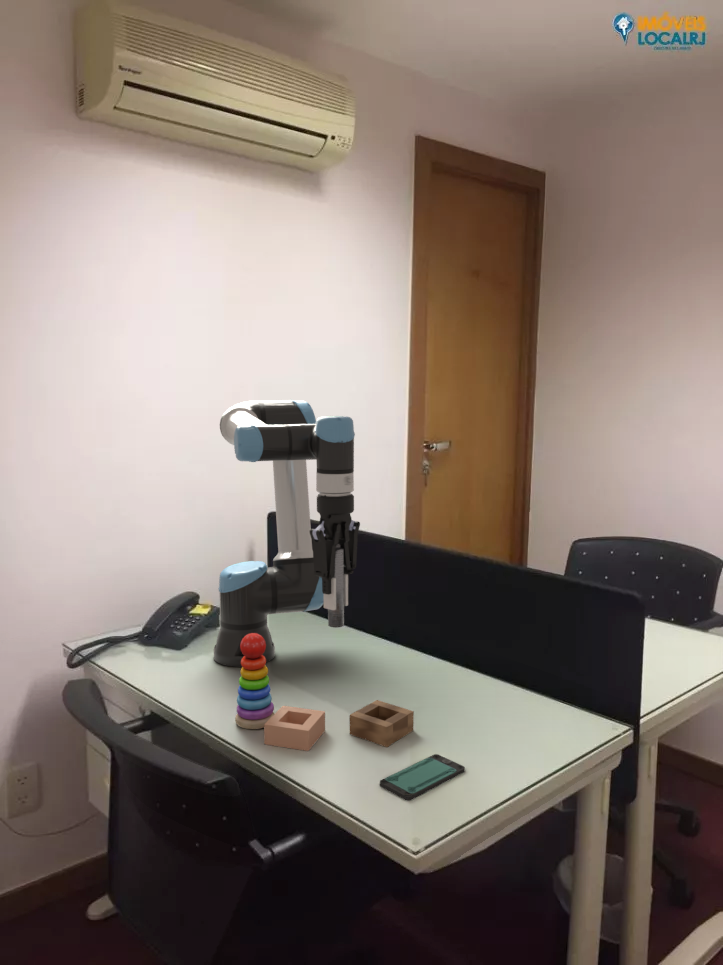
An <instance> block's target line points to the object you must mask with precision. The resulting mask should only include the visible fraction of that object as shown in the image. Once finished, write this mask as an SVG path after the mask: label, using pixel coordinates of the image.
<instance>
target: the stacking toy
mask: <svg viewBox="0 0 723 965" xmlns="http://www.w3.org/2000/svg"><path fill="white" fill-rule="evenodd" d="M240 648H241V652H242V654H243V655H244V657H243V658H242V660H241V665H242V667H241V669H240V677H239V680H238V683H239V686H238V688H237V693H238V695H237V697H236V703H237V706H236V712H237V713H236V714H235V718H234V719H235V720H234V721H235V723H236V724H237V726H239V727H240V728H243V729H247V730H259V729H264V724H265V723H266V722H267V721H268V720H269V719H270V718H271V717H272V716H273V715H274V714H275V712H274V710H275V705H274V702H272V701H273V698H272V697H273V696H272V694H271V686H270V684H269V683H270V677H269V675H268V674H269V669H268V667H267V664H266V663H267V662H266V658H265V657H264V656H263V655H262V654H263V653H264V652H265V649H266V642H265V640H264V638H263V637H262V636H261V635H259V634H257V633H250V634H248V635H246V636H245V637H244V638H243V639H242V641H241V644H240Z"/></svg>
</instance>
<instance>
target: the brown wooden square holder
mask: <svg viewBox="0 0 723 965" xmlns="http://www.w3.org/2000/svg"><path fill="white" fill-rule="evenodd" d="M414 712H415V711H414V710H410V709H407V708H404V707H402V706H398V705H396V704H395V705H394V704H392V703H389V702H385V701H381V700H379V699H376V700H374V701H372V702H370V703H369V704H366V705H365V706H363V707H361V708H359V709H357V710H356V711H354V712H352V713H350V714H349V735H351V736H354V737H357V738H359V739H362V740H365V741H368V742H370V743H373V744H376V745H380V746H382V747H385V748H388V747H390V746H391V745H393V744H394V743H396V742H397V741H399V740H401V739H403V738H404V737H405V736H407V735H409V734H411V733H412V732H414V724H415V722H414V721H415V720H414V719H415V718H414V716H415V715H414V714H415V713H414Z"/></svg>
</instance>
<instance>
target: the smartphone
mask: <svg viewBox="0 0 723 965" xmlns="http://www.w3.org/2000/svg"><path fill="white" fill-rule="evenodd" d="M465 771H466V768H465V766H464V765H461V764H460V763H457V762H456V761H453V760H452V759H450V758H447V757H444V756H442V755H440V754H437V753H435V754H432V755H430V756H427V757H426V758H424V759H421V760H420V761H417V762H415V763H414V764H411V765H409V766H407V767H405V768H403V769H400V770H399V771H397V772H395V773H393V774H391V775H388V776H386V777H384V778H382V779H380V780H379V787H380V788H383V789H384V790H386V791H388V792H389V793H391V794H393V795H395V796H397V797H399V798H401V799H402V800H403V801H409V802H410V801H413V800H414V799H417V798H418V797H420V796H422V795H423V794H426V793H427V792H430V791H431V790H433V789H435V788H437V787H438V786H441V785H443V784H445V783H447V782H448V781H450V780H452V779H453V778H456V777H457V776H460V775H461V774H463V773H465Z"/></svg>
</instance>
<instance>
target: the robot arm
mask: <svg viewBox="0 0 723 965" xmlns="http://www.w3.org/2000/svg"><path fill="white" fill-rule="evenodd" d="M310 404H311V403H309V402H307V401H306V400H293V399H280V400H279V399H278V400H277V399H276V400H248V401H242V402H240V403H236V404H234V405H233V406H231V407H229V408H228V409H226V411H225V412H224V413H223V414H222V416H221V418H220V421H219V429H220V434H221V436H222V437H223V438H224V440H225V441H226V442H227V443H229V444H231V445H232V446H234V449H233V450H234V454H235V458H236V460H237V461H240V462H249V463H257V462H272V470H273V471H272V472H273V486H274V500H275V501H274V502H275V516H276V518H275V519H276V534H277V535H276V536H277V548H278V549H277V550H278V552H277V554H276V556H274V558H273V560H272V562H273V564H272V566H269V567H268V565H267V563H266V562H264V561H261V560H248V561H242V562H238V563H234V564H231V565H229V566H226V567H225V568H223V569H222V570H221V572H220V574H219V578H218V579H219V581H218V582H219V583H218V592H219V624H220V625H219V626H220V627H219V630H218V634H217V639H216V644H215V645H214V647H213V659H214V661H215V662H216V663H217V664H220V665H223V666H227V667H235V668H236V667H237V668H239V667H241V668H242V665H241V660H242V658H243V657H244V655H243V654H242V652H241V648H240V644H241V641H242V639H243V638H244V637H245V636H246V635H248V634H250V633H257V634H259V635H261V636H262V637H263V638H264V640H265V642H266V649H265V652H264V653H263V654H262V655H263V656H264V657H265V658H266V663H267V662H270V661H271V660H273V659H274V658H275V656H276V650H275V643H274V641H273V639H272V635H271V632H270V629H269V626H268V615H274V614H275V615H276V614H277V615H278V614H286V613H299V612H303V613H306V612H308V611H314V610H315V611H316V610H319V609H320V608H322V606H323V608H324V609H326V610H328V609H330V610H336V578H333V572H334V562H335V552H336V545H338V542H340V543H341V548H343V549H344V607H347V606H349V586H350V575H352V574H353V575H354V570H355V569H356V568H357V559H358V558H357V556H358V554H357V553H358V534H359V530H360V526H361V522H360V521H357V520H352V515H351V514H352V513H354V511H355V496H354V495H353V492H354V490H355V488H354V485H355V483H354V477H355V476H354V471H355V470H354V468H355V459H354V458H355V455H354V454H355V436H356V433H355V427H354V420H353V418H352V417H350V416H345V415H344V416H343V415H334V416H333V415H330V416H329V415H326V416H319V417H318V418H316V416H315V413H314V410H313V407H312V406H311V405H310ZM309 460H311V461H312V460H313V461H314V460H316V492H317V493H318V494H317V495H316V511H317V513H318V514H319V515H320V517H319V521H318V526H317V527H315V528H311V527H312V526H311V513H310V498H309V485H308V484H309V483H308V482H309V481H308V468H307V467H308V466H307V461H309Z"/></svg>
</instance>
